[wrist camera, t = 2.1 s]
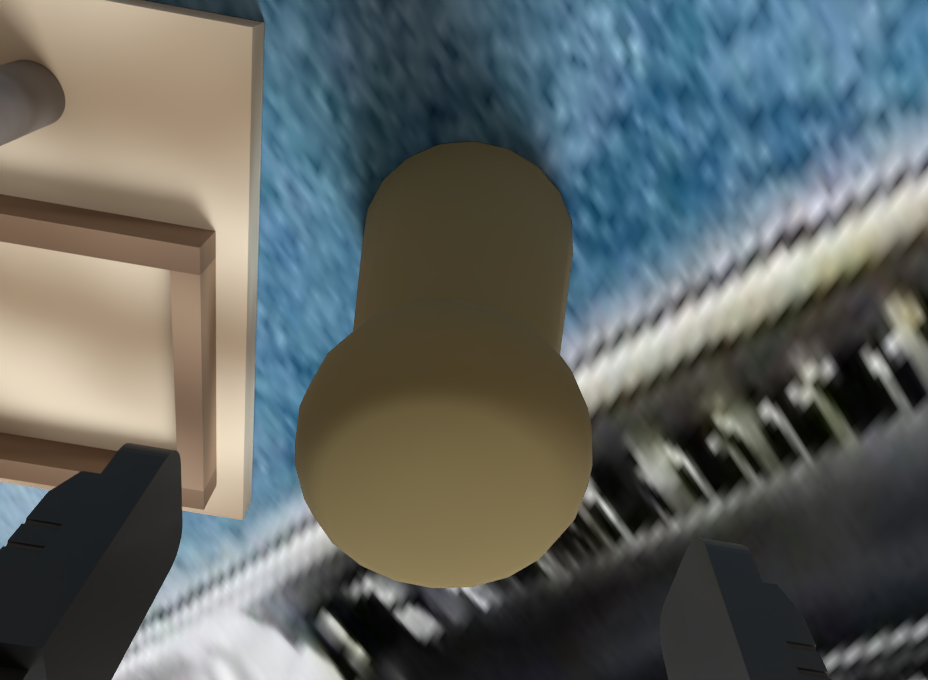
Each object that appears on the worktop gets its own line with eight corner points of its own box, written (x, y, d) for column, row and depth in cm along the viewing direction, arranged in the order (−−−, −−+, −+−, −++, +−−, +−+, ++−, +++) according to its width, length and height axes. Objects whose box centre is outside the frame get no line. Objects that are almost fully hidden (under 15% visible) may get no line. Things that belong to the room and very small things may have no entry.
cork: (522, 364, 23) (534, 679, 13) (337, 297, 22) (209, 582, 13) (610, 190, 20) (705, 432, 11) (402, 106, 19) (299, 286, 10)
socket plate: (-183, -60, 18) (-349, -56, 14) (264, 22, 18) (208, 45, 15) (-60, 450, 26) (-148, 532, 22) (251, 500, 26) (212, 588, 23)
